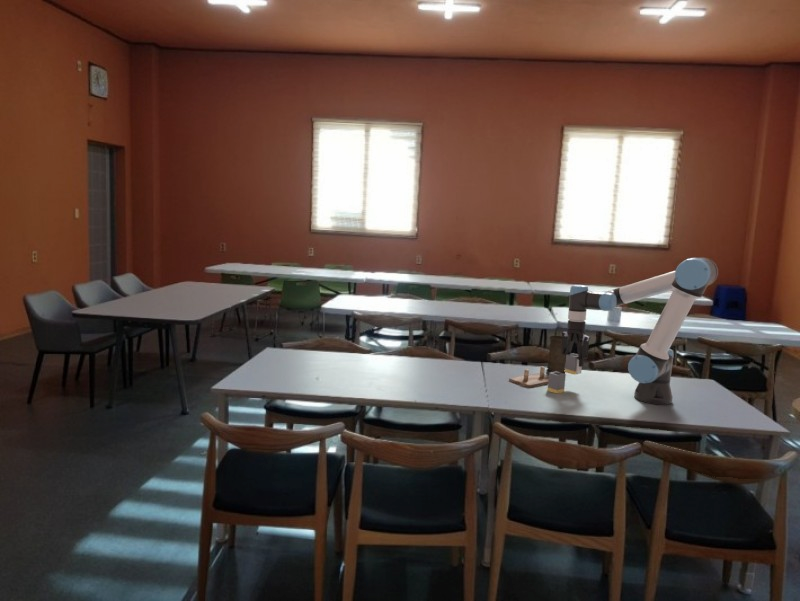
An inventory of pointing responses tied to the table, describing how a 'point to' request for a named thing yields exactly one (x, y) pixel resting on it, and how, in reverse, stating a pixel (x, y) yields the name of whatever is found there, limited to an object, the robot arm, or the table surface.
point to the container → (556, 356)
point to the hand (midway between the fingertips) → (573, 371)
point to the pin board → (531, 379)
